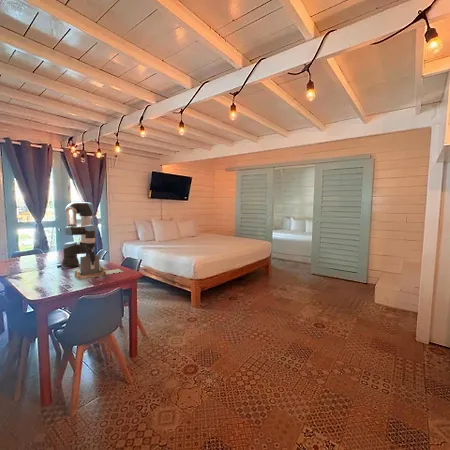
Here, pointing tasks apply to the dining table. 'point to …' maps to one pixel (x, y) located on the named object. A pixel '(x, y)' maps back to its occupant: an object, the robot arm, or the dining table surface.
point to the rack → (101, 272)
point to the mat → (113, 271)
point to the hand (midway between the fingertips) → (90, 267)
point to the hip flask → (88, 265)
